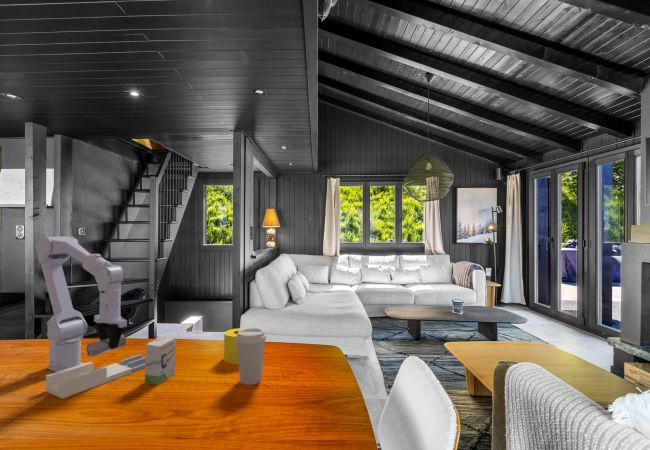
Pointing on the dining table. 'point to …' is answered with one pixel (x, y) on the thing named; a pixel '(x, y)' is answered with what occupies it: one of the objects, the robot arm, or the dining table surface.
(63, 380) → the white channel tray
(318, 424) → the dining table surface
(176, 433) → the dining table surface
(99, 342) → the axle
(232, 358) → the yellow cylinder
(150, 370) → the ink box
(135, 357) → the cradle
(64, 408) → the dining table surface
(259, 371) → the coffee cup
